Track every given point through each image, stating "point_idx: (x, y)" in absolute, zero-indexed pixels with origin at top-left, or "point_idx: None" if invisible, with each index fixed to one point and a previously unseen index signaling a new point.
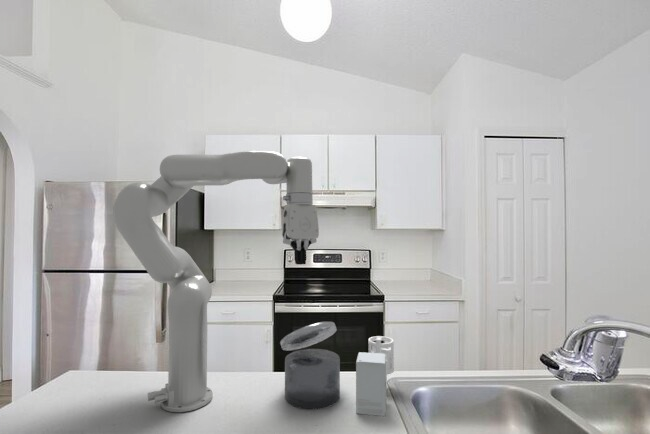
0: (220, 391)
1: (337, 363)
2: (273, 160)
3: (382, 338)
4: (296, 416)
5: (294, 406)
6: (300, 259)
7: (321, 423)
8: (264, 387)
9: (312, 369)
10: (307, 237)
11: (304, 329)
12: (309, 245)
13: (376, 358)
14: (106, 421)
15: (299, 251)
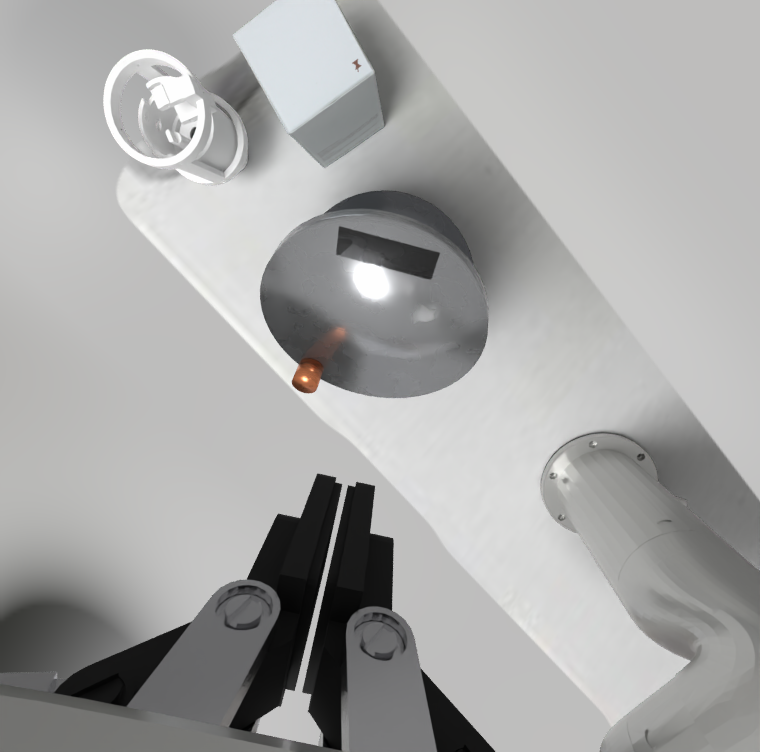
0: (520, 467)
1: (356, 195)
2: None
3: (121, 132)
4: (489, 236)
5: None
6: (369, 521)
7: (475, 165)
8: (437, 406)
9: (451, 221)
10: (201, 750)
11: (462, 262)
12: (133, 647)
13: (301, 25)
14: (743, 523)
15: (356, 611)
